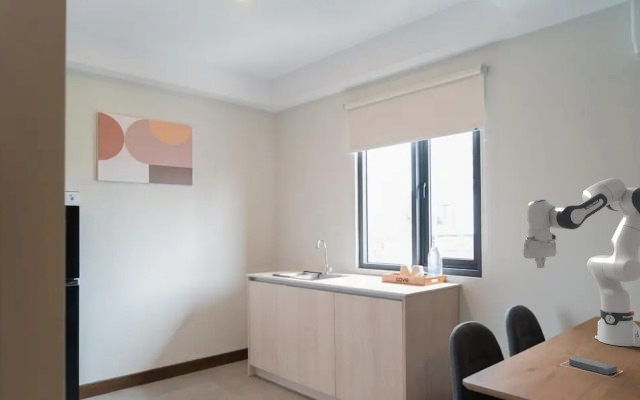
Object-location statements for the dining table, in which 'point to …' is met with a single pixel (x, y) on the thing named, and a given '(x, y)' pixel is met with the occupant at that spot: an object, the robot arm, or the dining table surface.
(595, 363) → the tile
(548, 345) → the dining table surface
